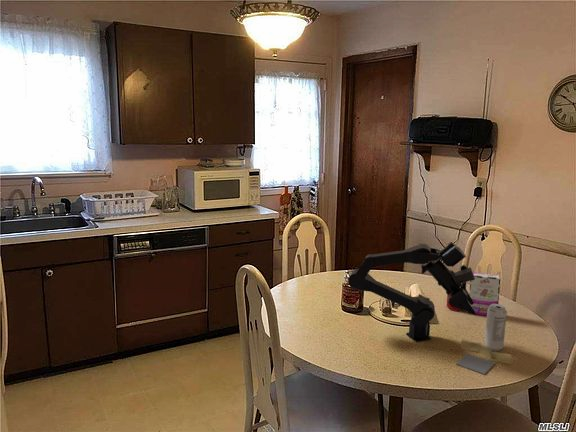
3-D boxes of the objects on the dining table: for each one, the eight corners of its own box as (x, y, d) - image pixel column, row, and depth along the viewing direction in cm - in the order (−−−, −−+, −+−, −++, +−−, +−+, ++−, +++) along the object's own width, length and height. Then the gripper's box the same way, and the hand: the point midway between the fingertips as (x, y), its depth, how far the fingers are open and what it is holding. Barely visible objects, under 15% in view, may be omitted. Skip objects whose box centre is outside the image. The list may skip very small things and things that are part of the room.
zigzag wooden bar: (458, 349, 162) (459, 341, 161) (463, 346, 165) (463, 337, 164) (508, 366, 151) (509, 357, 151) (512, 362, 154) (513, 353, 153)
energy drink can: (497, 342, 167) (501, 302, 164) (506, 351, 161) (511, 309, 158) (480, 343, 166) (484, 303, 163) (490, 352, 160) (494, 310, 158)
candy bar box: (497, 313, 193) (500, 274, 189) (497, 318, 188) (501, 278, 185) (467, 309, 197) (470, 271, 193) (467, 313, 192) (470, 274, 189)
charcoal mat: (484, 374, 146) (484, 373, 146) (456, 364, 152) (456, 363, 152) (495, 364, 153) (495, 362, 152) (467, 354, 159) (467, 353, 158)
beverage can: (464, 312, 194) (467, 284, 191) (447, 310, 195) (449, 283, 193) (462, 306, 200) (464, 278, 198) (445, 304, 201) (447, 277, 199)
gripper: (462, 268, 153) (496, 304, 152) (460, 253, 170) (490, 285, 169) (434, 288, 157) (467, 324, 156) (435, 272, 174) (465, 304, 173)
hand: (473, 308), depth 163 cm, fingers open, 9 cm apart
